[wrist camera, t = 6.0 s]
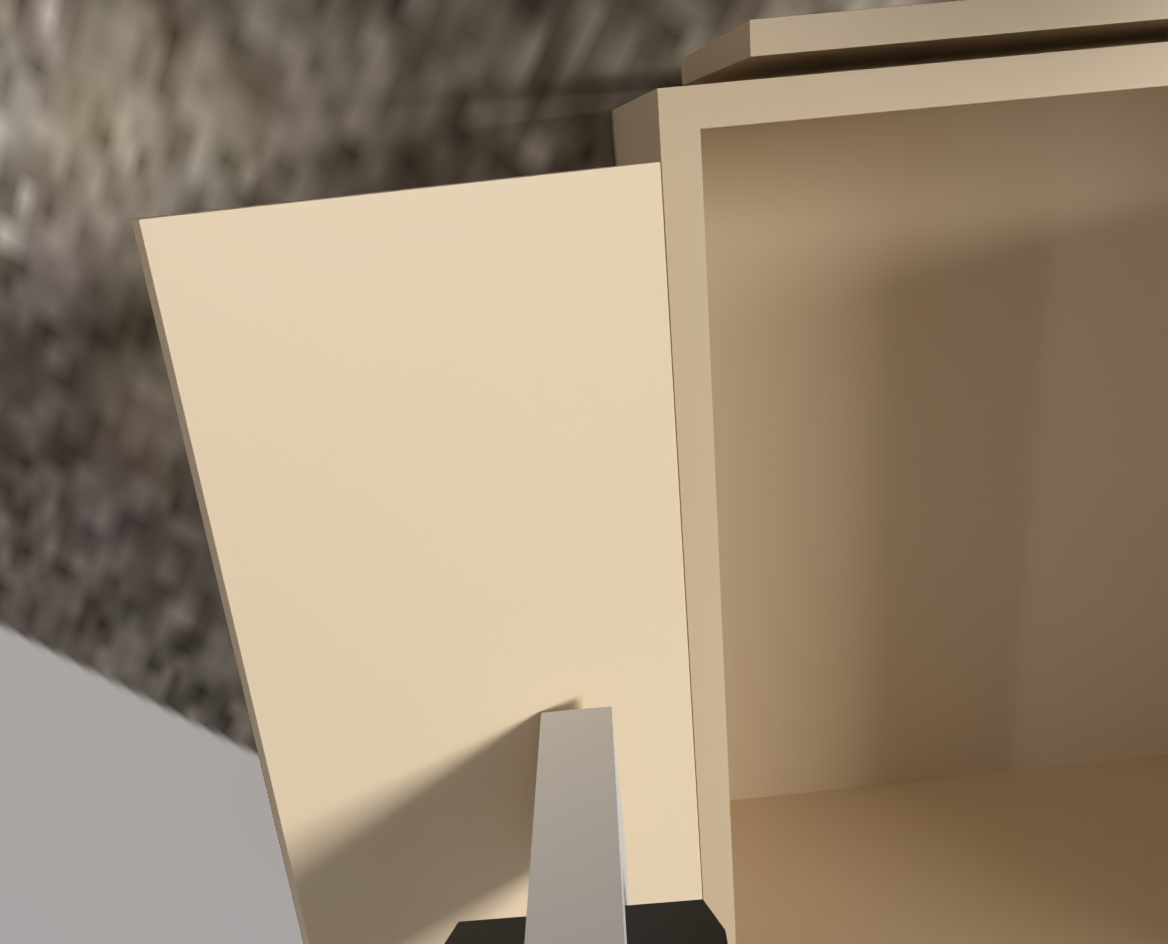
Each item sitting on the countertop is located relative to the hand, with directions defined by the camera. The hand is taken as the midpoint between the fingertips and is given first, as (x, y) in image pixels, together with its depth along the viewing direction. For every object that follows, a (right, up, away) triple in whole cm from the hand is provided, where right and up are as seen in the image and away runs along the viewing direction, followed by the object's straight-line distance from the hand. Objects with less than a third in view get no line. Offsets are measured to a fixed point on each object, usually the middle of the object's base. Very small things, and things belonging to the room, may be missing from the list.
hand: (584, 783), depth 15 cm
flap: (+2, +1, +2) cm, 3 cm away
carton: (+12, +5, +11) cm, 17 cm away
